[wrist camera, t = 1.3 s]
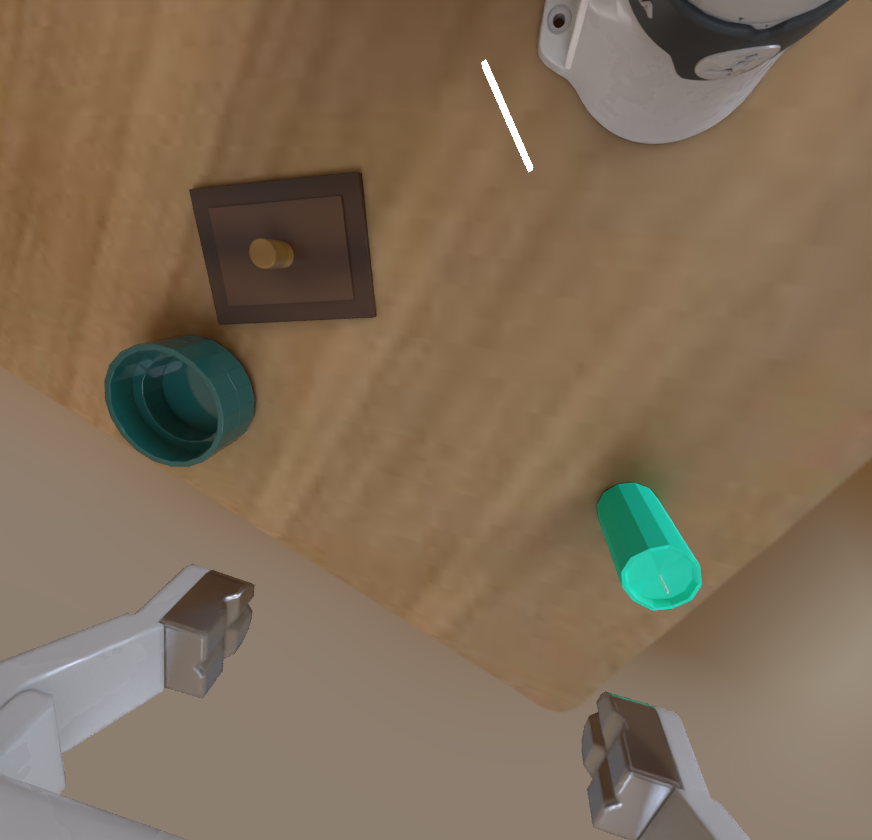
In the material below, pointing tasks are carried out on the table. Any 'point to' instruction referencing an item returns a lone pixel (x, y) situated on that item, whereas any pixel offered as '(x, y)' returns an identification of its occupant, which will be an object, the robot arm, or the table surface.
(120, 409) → the bowl
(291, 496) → the table surface
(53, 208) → the table surface
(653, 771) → the robot arm
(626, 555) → the candle
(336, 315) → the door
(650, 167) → the table surface
